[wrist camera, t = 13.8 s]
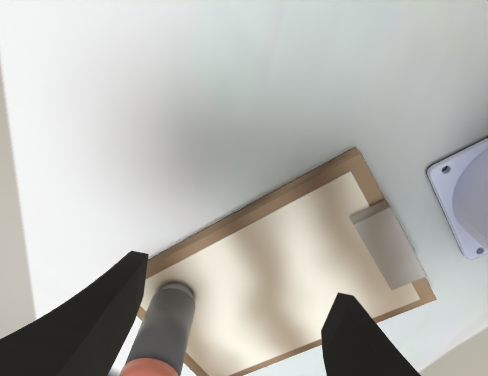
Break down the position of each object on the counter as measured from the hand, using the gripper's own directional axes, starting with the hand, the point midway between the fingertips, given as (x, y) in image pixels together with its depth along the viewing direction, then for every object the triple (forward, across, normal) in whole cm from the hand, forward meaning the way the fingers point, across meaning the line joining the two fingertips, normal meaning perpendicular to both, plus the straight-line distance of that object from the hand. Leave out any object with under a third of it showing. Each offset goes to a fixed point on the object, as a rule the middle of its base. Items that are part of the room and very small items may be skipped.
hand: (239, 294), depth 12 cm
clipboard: (+10, -4, +8) cm, 13 cm away
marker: (+9, +3, +10) cm, 14 cm away
